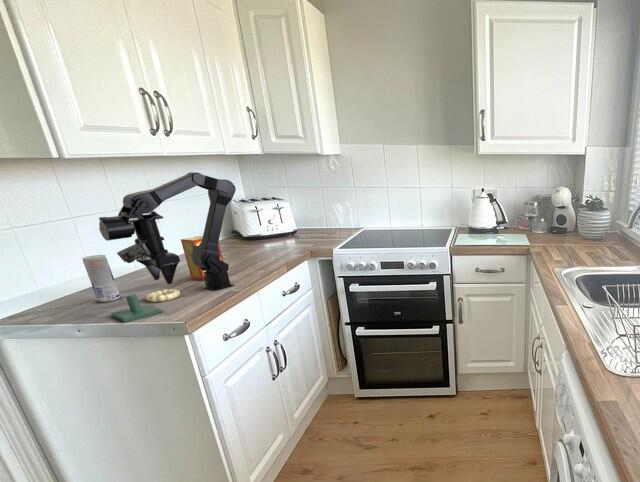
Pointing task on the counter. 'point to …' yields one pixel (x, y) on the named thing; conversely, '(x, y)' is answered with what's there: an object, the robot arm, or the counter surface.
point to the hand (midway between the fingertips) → (163, 281)
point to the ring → (162, 295)
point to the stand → (135, 310)
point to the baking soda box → (188, 249)
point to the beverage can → (101, 278)
